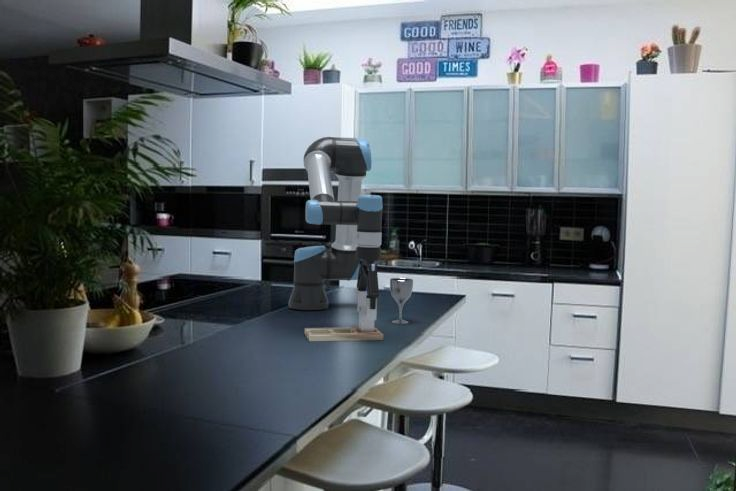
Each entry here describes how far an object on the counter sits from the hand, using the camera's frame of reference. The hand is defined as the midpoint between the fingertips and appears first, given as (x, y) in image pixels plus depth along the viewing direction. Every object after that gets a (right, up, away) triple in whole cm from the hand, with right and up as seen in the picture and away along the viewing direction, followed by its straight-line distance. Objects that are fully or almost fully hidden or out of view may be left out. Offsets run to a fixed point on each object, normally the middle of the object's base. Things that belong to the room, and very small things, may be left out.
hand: (366, 315), depth 189 cm
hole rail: (-7, -6, -1) cm, 9 cm away
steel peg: (0, -6, 0) cm, 6 cm away
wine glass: (+12, -5, +25) cm, 28 cm away
